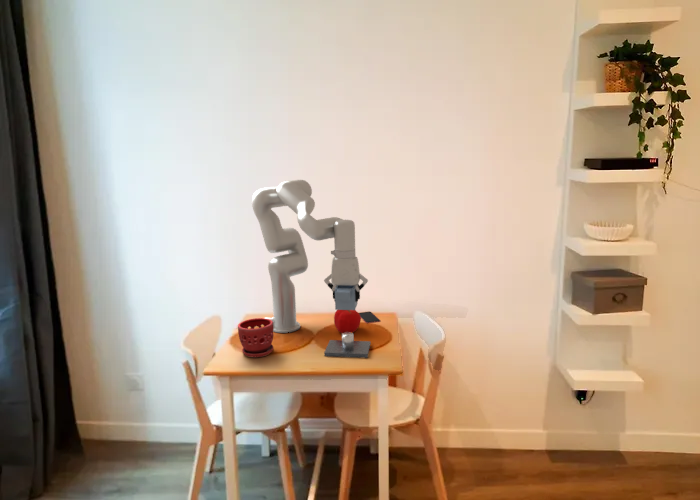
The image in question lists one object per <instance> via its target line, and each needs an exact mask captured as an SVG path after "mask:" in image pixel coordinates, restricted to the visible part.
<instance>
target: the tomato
mask: <svg viewBox="0 0 700 500" xmlns="http://www.w3.org/2000/svg"><path fill="white" fill-rule="evenodd" d="M359 313H360V312H359V311H357V310H356V309H355V310H336V311H335V312H334V315H333V322H334V326H335V328H336V330H337V331H338V332H339V333H341V334H343V333H345V332H352V333H355V332H356V331H357V330H358V328H359V327H360V324H361V320H362V319H361V317H360V314H359Z"/></svg>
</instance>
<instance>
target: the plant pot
mask: <svg viewBox="0 0 700 500" xmlns="http://www.w3.org/2000/svg"><path fill="white" fill-rule="evenodd" d="M266 318H267V317H257V318H249V319H245V320H243V321H241V322H239V323H238V325H237V331H238V338H239V342H240V344H241V346H242V351H241V352H242V354H243V356H247V357H248V358H249V357H250V358H262V357H265V356H268V355H269V354H271V353H272V352H273V350H274V345H273V344H272V343H273V340H274V331H273V329H274V327H273V321H272V320H270V319H266ZM262 325H263V326H262ZM255 327H257V328H255Z"/></svg>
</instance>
